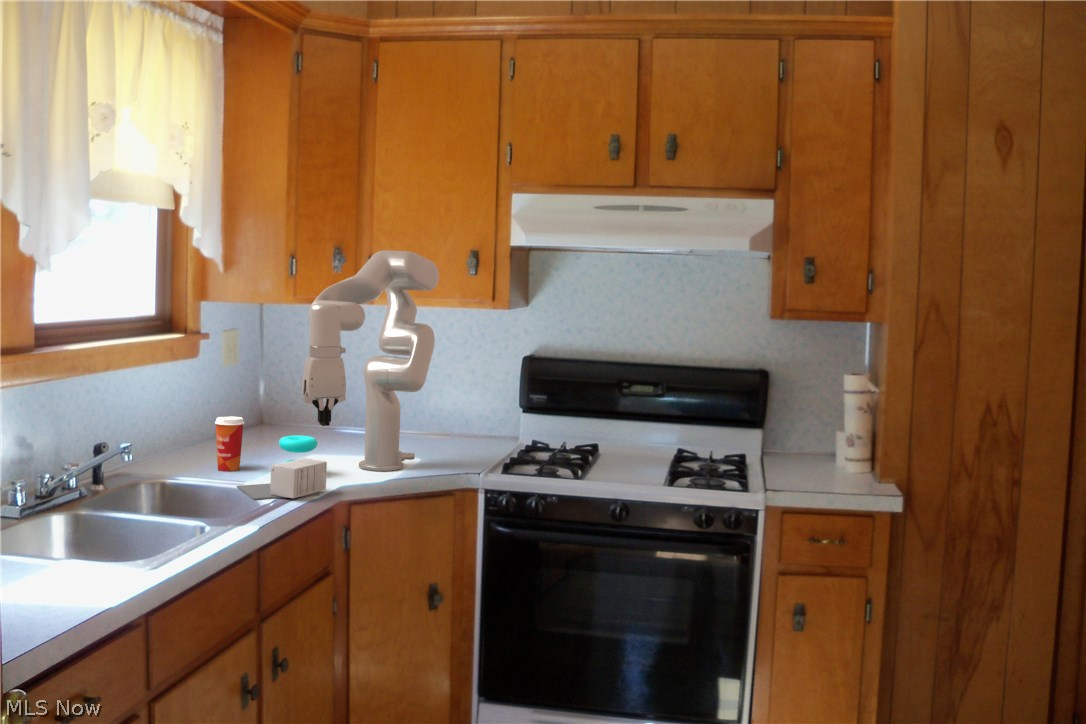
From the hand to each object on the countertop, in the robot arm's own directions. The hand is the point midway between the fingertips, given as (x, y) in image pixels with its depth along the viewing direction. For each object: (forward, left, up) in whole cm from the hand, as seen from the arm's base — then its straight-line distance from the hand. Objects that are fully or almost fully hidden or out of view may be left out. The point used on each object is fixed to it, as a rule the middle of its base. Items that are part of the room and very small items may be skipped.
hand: (324, 424), depth 250 cm
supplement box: (+3, +2, -12) cm, 12 cm away
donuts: (+1, -18, -16) cm, 24 cm away
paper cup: (+16, -30, -16) cm, 37 cm away
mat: (+12, 0, -16) cm, 20 cm away
